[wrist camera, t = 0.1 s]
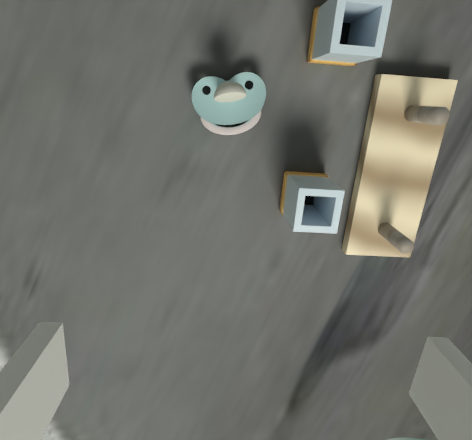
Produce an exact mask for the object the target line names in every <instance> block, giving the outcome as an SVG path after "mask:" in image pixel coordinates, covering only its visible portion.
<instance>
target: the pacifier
mask: <svg viewBox="0 0 472 440" xmlns="http://www.w3.org/2000/svg"><path fill="white" fill-rule="evenodd" d="M246 81H252V82H253V88H252V89H250V90H248V89H246V88H245V83H246ZM204 86H209V87H210V89H211V92H210V94H208V95H205V94H204V93H203V92H202V89H203V87H204ZM265 98H266V88H265V85H264V82H263V81H262V79H261V78H260V77H259V76H258V75H256V74H254V73H251V72H243V73H239V74H237V75H235V76H234V77H232V78H231V79H230V80H228V81H225V80H223V79H221V78H218V77H214V76H209V77H205V78H202V79H200V80H199V81H198V82H197V83H196V84H195V86H194V88H193V90H192V103H193V106H194V108H195V110H196V112H197V113H198V114H199V115H200V118H201V121H202V124H203V125H204V126H205V127H206V128H207V129H208V130H210V131H211V132H214V133H217V134H221V135H235V134H239V133H242V132H245V131H247V130H249V129H250V128H252V127H253V126H254V125H255V124H256V123H257V122H258V121H259V118H260V116H261V109H262V107H263V104H264V102H265ZM245 121H246V122H245ZM242 122H245V123H243V124H241V125H238V126H234V127H223V126H219V125H233V124H238V123H242ZM216 124H218V125H216Z"/></svg>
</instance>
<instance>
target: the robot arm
mask: <svg viewBox="0 0 472 440" xmlns="http://www.w3.org/2000/svg"><path fill="white" fill-rule="evenodd" d="M68 387H69V378H68V368H67V359H66V350H65V340H64V331H63V323H49V322H39V323H38V325H37V326H36V327H35V328H34V330H33V331H32V332H31V333H30V335H29V336H28V337H27V339H26V340H25V341H24V342H23V344H22V345H21V346H20V347H19V349H18V350H17V351H16V352H15V354H14V355H13V356H12V357H11V359H10V360H9V361H8V363H7V364H6V365H5V366H4V368H3V369H2V370H1V372H0V440H41V439H42V437H43V435H44V433H45V431H46V429H47V427H48V425H49V424H50V422H51V420H52V418H53V416H54V414H55V412H56V410H57V408H58V406H59V404H60V402H61V400H62V398H63V396H64V394H65V393H66V391H67V389H68ZM409 395H410V396H411V398H412V400H413V401H414V403H415V404H416V406H417V407H418V409H419V411H420V412H421V414H422V415H423V417H424V418H425V420H426V421H427V423H428V425H429V426H430V428H431V429H432V431H433V432H434V434H435V436H436V437H437V439H438V440H472V363H471V362H470V361H469V360H468V359H467V358H466V357H465V356H464V355H463V354H462V353H461V352H460V351H459V350H458V349H457V347H456V346H455V345H454V344H453V343H452V342H451V341H450V340H449V339H448V338H444V337H427V340H426V343H425V346H424V349H423V352H422V355H421V358H420V361H419V364H418V367H417V370H416V373H415V376H414V379H413V382H412V385H411V388H410V391H409Z"/></svg>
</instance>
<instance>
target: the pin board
mask: <svg viewBox="0 0 472 440" xmlns="http://www.w3.org/2000/svg"><path fill="white" fill-rule="evenodd" d="M457 82H458V80H449V79H437V78H424V77H412V76H400V75H388V74H378V75H375V80H374V85H373V90H372V95H371V100H370V105H369V111H368V116H367V121H366V126H365V131H364V136H363V142H362V147H361V152H360V157H359V162H358V167H357V173H356V178H355V183H354V188H353V193H352V199H351V204H350V209H349V214H348V219H347V224H346V230H345V235H344V240H343V245H342V250H343V251H344V253H345V254H346V255H369V256H392V257H410V255H411V252H412V250H413V248H414V241H415V237H416V233H417V229H418V226H419V222H420V218H421V215H422V211H423V207H424V204H425V200H426V196H427V193H428V189H429V185H430V181H431V178H432V174H433V170H434V167H435V163H436V159H437V156H438V152H439V148H440V145H441V141H442V137H443V133H444V130H445V126H446V122H447V121H448V119H449V117H450V112H449V111H450V108H451V104H452V100H453V97H454V93H455V89H456V85H457Z"/></svg>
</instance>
